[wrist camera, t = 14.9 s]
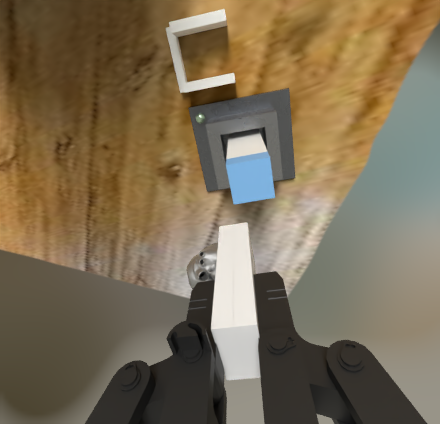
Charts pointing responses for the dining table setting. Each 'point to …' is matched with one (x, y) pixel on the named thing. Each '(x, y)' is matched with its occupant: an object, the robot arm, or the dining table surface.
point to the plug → (249, 167)
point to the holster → (173, 32)
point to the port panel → (242, 121)
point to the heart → (203, 265)
